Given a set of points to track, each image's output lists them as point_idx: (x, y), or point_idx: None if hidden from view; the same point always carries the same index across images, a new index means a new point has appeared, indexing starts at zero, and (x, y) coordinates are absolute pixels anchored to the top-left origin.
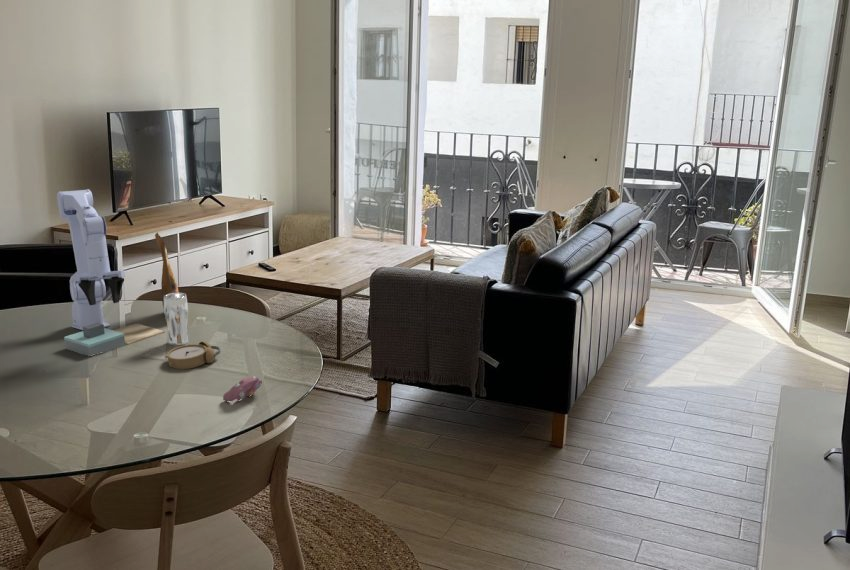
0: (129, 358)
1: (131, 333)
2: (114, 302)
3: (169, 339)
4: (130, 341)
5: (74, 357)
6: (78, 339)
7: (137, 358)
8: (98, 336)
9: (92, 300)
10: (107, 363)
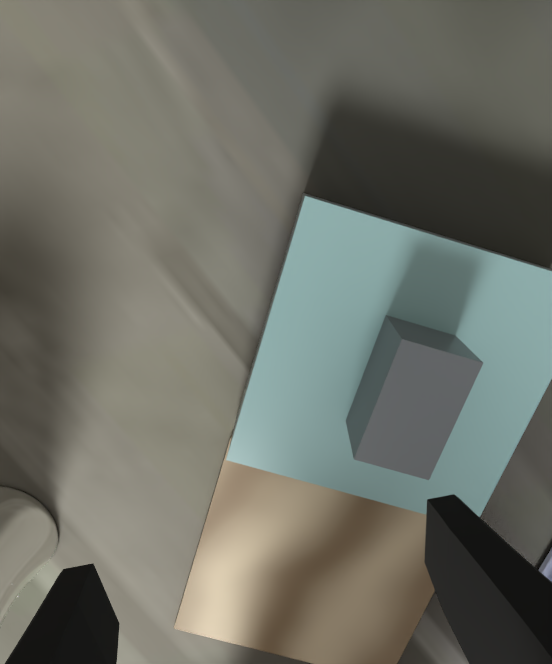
0: (66, 250)
1: (314, 565)
2: (72, 574)
3: (8, 512)
4: (239, 469)
5: (400, 154)
6: (456, 270)
7: (24, 265)
8: (352, 366)
9: (456, 577)
10: (127, 129)
